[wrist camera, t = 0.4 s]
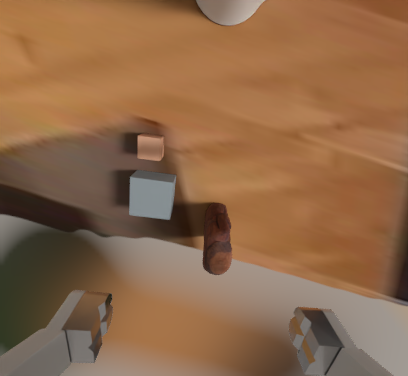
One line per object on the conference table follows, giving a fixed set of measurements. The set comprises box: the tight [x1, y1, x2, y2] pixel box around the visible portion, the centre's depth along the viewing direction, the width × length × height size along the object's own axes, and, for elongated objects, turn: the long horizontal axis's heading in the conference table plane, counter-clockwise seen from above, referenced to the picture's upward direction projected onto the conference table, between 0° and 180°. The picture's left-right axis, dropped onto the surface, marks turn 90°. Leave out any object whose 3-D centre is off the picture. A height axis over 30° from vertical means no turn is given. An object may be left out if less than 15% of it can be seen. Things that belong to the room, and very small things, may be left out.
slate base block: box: [129, 170, 176, 220], centre depth 52 cm, size 10×10×6 cm
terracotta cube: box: [138, 133, 164, 161], centre depth 48 cm, size 5×5×5 cm
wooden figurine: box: [203, 203, 232, 275], centre depth 50 cm, size 12×6×18 cm, turn 173°
